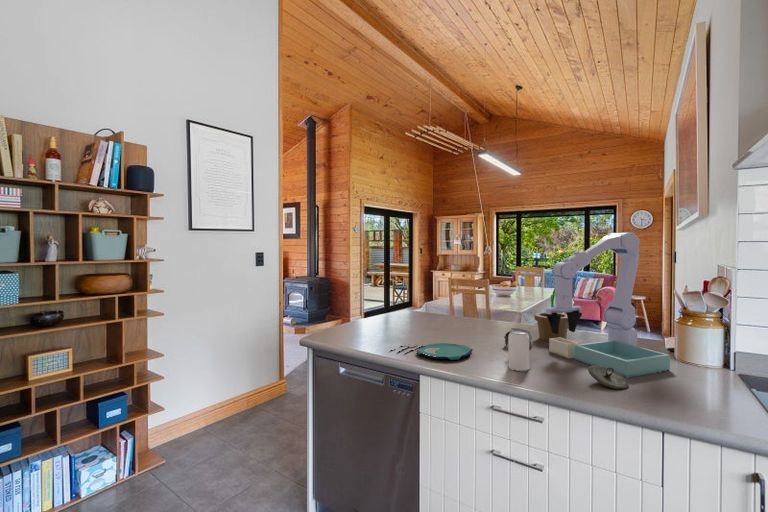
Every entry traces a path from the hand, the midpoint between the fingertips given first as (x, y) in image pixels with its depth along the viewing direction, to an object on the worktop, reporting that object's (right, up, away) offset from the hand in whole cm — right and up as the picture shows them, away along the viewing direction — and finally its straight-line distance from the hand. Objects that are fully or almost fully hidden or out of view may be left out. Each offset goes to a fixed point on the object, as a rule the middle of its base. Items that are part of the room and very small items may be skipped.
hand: (563, 332), depth 140 cm
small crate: (0, -8, 0) cm, 8 cm away
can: (-21, -9, -14) cm, 27 cm away
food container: (-17, -9, -5) cm, 20 cm away
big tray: (+13, -8, -12) cm, 20 cm away
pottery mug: (-12, -8, +12) cm, 19 cm away
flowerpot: (+6, -8, +22) cm, 24 cm away
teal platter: (-47, -10, +6) cm, 48 cm away
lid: (-1, -9, -29) cm, 30 cm away
